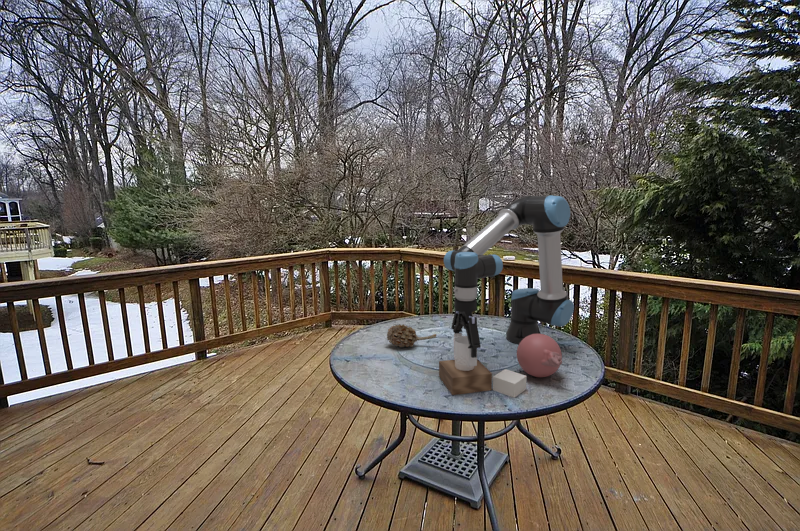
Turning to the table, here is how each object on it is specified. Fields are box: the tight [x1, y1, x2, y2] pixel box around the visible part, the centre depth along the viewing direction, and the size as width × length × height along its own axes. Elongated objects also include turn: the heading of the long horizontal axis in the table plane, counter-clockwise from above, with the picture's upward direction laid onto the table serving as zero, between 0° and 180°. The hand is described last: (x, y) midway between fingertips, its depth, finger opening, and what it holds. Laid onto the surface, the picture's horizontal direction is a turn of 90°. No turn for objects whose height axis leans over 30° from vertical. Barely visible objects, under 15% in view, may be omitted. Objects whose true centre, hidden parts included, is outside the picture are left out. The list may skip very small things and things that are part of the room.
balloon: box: [516, 333, 563, 378], centre depth 144 cm, size 15×20×15 cm
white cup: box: [453, 335, 474, 371], centre depth 140 cm, size 8×8×10 cm
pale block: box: [492, 368, 528, 398], centre depth 137 cm, size 8×8×5 cm
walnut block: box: [438, 358, 493, 396], centre depth 141 cm, size 14×14×6 cm
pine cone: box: [386, 324, 437, 348], centre depth 176 cm, size 22×10×10 cm, turn 92°
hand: (464, 357), depth 140 cm, fingers open, 13 cm apart
